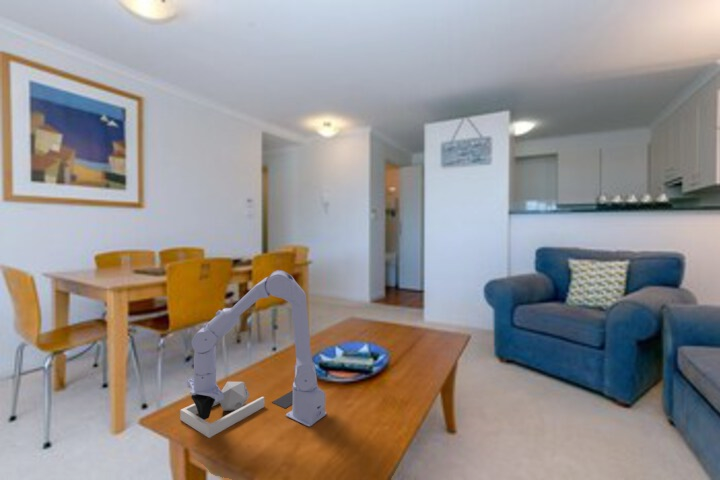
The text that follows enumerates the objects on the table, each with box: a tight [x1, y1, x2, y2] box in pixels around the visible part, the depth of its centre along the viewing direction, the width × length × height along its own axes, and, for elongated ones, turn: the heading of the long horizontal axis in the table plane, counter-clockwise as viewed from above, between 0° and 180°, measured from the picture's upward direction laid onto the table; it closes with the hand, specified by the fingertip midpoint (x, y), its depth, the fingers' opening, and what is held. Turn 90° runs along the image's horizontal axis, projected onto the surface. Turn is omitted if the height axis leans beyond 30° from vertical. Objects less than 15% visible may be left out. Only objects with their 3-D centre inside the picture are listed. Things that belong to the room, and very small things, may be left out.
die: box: [219, 380, 250, 412], centre depth 100 cm, size 8×9×10 cm
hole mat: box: [271, 389, 293, 409], centre depth 106 cm, size 6×10×1 cm, turn 147°
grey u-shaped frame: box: [179, 396, 266, 439], centre depth 97 cm, size 14×18×3 cm
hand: (204, 418), depth 92 cm, fingers closed
